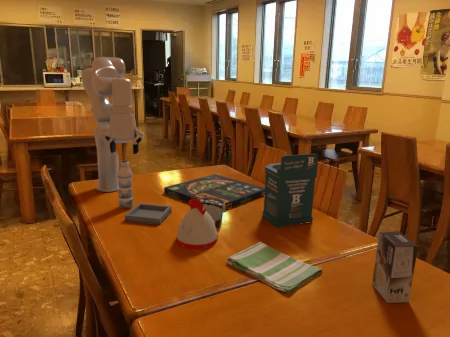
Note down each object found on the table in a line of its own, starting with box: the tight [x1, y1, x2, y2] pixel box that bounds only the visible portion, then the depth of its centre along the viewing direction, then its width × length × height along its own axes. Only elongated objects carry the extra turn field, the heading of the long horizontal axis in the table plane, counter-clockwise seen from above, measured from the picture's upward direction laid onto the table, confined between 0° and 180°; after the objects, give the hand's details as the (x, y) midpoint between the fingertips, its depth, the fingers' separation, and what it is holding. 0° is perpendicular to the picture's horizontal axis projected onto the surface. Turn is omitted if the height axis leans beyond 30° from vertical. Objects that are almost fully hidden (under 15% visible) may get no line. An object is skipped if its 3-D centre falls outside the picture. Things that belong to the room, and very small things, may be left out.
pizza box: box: [163, 173, 265, 212], centre depth 179 cm, size 35×35×4 cm
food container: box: [198, 197, 225, 230], centre depth 143 cm, size 12×6×10 cm, turn 65°
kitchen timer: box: [176, 198, 218, 250], centre depth 128 cm, size 14×14×15 cm
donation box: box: [261, 153, 319, 229], centre depth 149 cm, size 16×16×28 cm
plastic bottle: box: [117, 160, 135, 209], centre depth 156 cm, size 6×7×20 cm
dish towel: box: [226, 241, 323, 294], centre depth 113 cm, size 18×23×3 cm
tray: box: [124, 202, 173, 226], centre depth 149 cm, size 14×14×2 cm
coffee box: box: [371, 231, 419, 304], centre depth 100 cm, size 9×6×16 cm
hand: (124, 152), depth 152 cm, fingers open, 9 cm apart
